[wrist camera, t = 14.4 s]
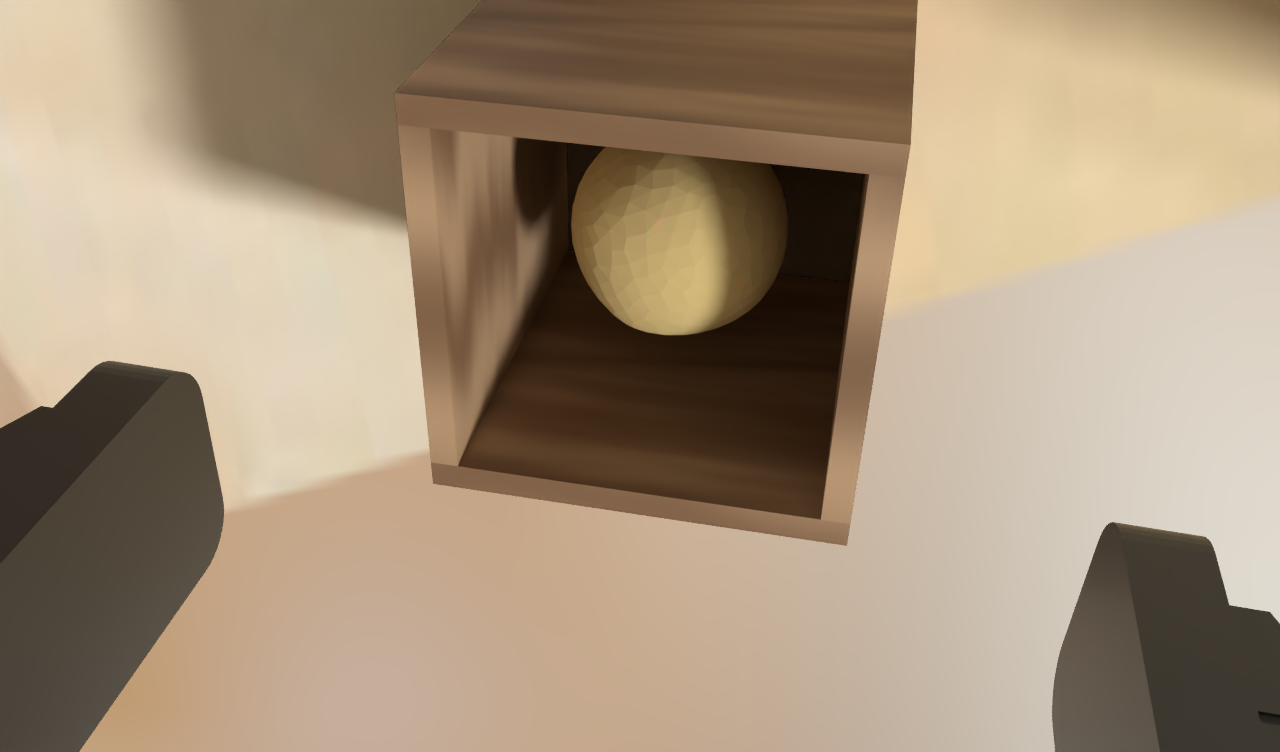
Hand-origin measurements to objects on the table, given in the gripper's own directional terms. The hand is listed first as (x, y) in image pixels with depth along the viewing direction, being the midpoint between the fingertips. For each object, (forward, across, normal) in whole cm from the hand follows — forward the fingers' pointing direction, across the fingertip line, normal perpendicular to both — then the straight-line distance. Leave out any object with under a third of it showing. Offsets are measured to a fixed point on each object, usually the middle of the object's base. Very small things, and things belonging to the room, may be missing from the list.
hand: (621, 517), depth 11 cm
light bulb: (+31, +3, +10) cm, 33 cm away
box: (+31, +3, +10) cm, 33 cm away
